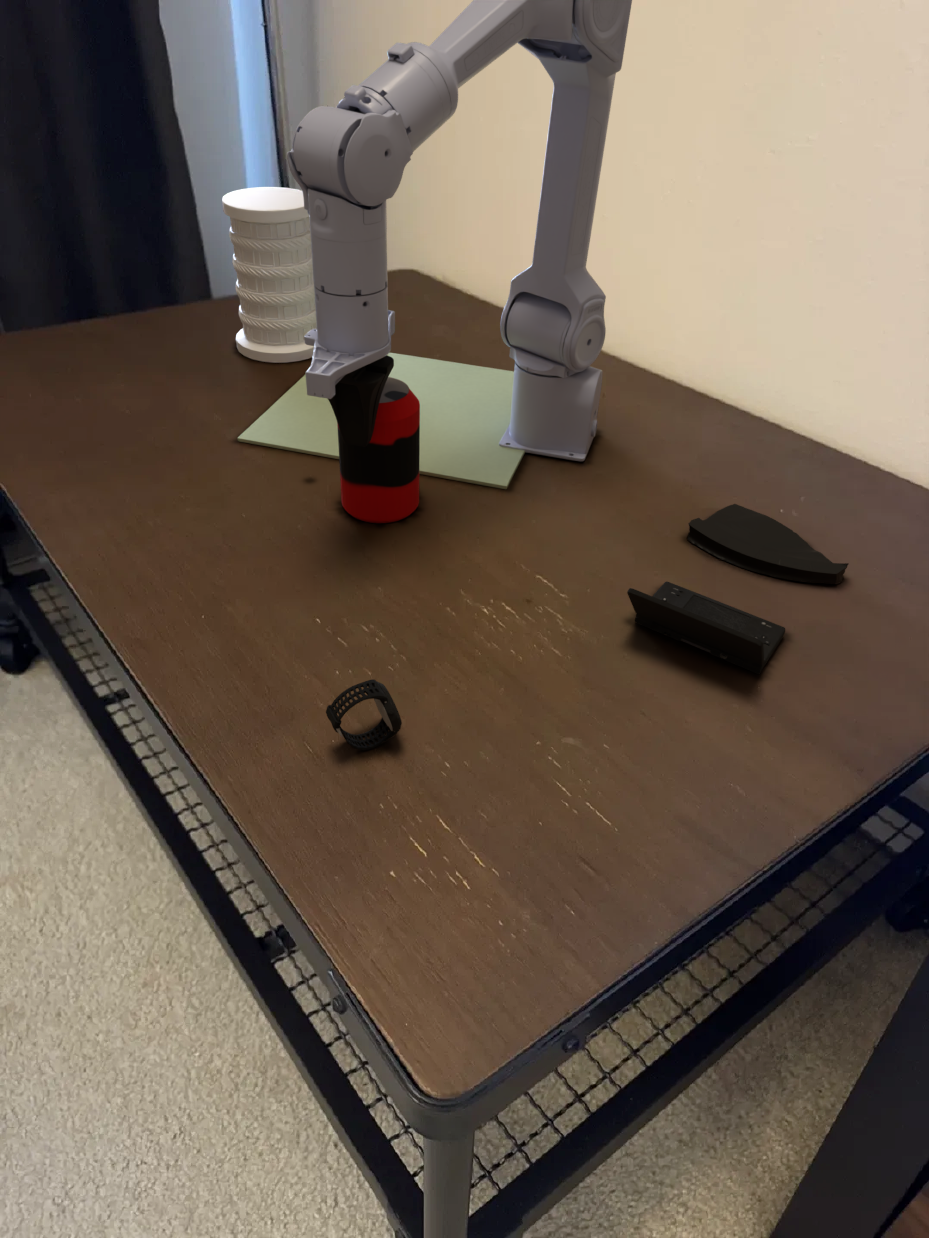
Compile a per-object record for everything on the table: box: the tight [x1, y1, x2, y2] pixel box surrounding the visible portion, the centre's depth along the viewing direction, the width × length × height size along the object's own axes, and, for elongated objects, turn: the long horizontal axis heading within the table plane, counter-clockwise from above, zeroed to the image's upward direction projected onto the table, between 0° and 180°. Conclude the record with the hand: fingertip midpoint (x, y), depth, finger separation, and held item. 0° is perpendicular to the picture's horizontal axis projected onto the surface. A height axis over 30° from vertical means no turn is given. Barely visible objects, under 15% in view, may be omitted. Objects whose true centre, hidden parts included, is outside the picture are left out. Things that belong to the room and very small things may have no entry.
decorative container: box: [221, 186, 317, 364], centre depth 113 cm, size 12×12×18 cm
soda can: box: [337, 377, 420, 524], centre depth 85 cm, size 8×8×12 cm
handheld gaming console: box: [626, 581, 786, 675], centre depth 72 cm, size 12×7×10 cm
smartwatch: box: [325, 678, 403, 751], centre depth 63 cm, size 4×5×5 cm
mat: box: [236, 351, 526, 490], centre depth 105 cm, size 30×28×1 cm
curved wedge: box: [686, 503, 850, 585], centre depth 84 cm, size 8×14×2 cm, turn 41°
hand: (357, 441), depth 79 cm, fingers closed
